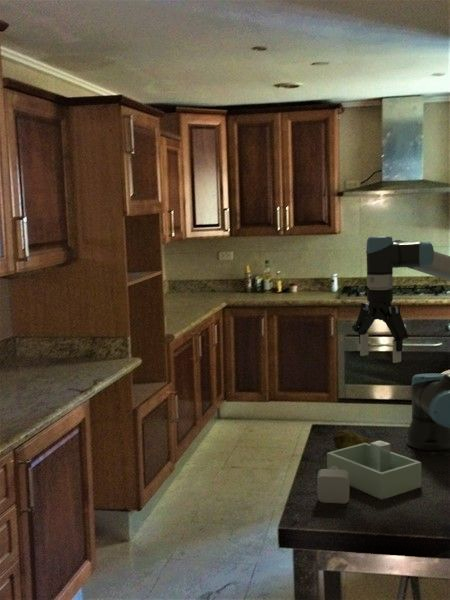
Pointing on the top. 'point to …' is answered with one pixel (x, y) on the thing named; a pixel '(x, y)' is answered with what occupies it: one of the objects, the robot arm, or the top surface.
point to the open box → (372, 481)
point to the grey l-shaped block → (380, 456)
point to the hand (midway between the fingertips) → (380, 358)
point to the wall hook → (333, 485)
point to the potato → (348, 439)
